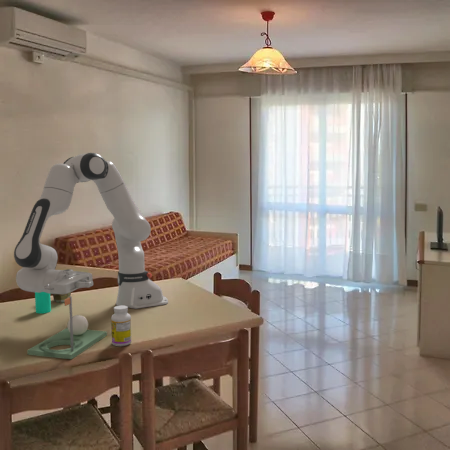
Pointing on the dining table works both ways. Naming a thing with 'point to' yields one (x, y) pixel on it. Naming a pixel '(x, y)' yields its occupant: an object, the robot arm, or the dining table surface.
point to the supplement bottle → (121, 326)
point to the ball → (78, 324)
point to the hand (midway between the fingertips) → (91, 284)
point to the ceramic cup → (61, 297)
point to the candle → (42, 302)
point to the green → (67, 341)
